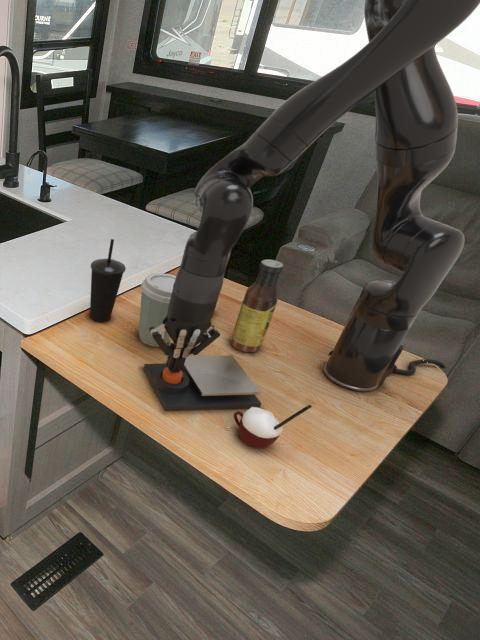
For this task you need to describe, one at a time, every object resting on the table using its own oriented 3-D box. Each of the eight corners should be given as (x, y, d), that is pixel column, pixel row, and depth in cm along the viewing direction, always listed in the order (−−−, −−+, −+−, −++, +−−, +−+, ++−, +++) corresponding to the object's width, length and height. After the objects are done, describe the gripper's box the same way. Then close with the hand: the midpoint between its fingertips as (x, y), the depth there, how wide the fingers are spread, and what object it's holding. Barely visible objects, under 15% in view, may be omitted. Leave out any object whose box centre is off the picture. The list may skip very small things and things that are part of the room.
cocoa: (223, 426, 94) (243, 374, 87) (254, 421, 95) (276, 369, 88) (256, 465, 86) (280, 411, 79) (289, 460, 87) (316, 407, 80)
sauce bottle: (263, 355, 112) (295, 272, 100) (232, 352, 113) (261, 269, 101) (255, 338, 117) (285, 258, 106) (226, 335, 118) (253, 255, 107)
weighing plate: (231, 357, 106) (232, 355, 106) (259, 394, 96) (260, 391, 96) (178, 358, 106) (179, 356, 105) (201, 396, 96) (202, 393, 96)
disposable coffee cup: (151, 322, 123) (164, 264, 114) (189, 343, 115) (207, 284, 107) (120, 336, 118) (131, 277, 109) (158, 359, 111) (174, 298, 102)
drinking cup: (78, 312, 127) (88, 235, 115) (105, 307, 128) (118, 231, 117) (93, 328, 121) (105, 248, 109) (122, 322, 122) (137, 244, 111)
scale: (228, 366, 108) (232, 355, 107) (259, 408, 98) (264, 396, 96) (141, 369, 108) (144, 357, 106) (163, 411, 97) (167, 399, 95)
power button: (177, 372, 103) (178, 366, 102) (183, 384, 100) (185, 377, 99) (159, 373, 102) (160, 366, 102) (165, 384, 100) (167, 378, 99)
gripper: (165, 303, 87) (145, 383, 96) (243, 301, 87) (215, 381, 97) (151, 281, 93) (133, 359, 103) (223, 280, 93) (199, 357, 103)
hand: (173, 370), depth 100 cm, fingers closed
